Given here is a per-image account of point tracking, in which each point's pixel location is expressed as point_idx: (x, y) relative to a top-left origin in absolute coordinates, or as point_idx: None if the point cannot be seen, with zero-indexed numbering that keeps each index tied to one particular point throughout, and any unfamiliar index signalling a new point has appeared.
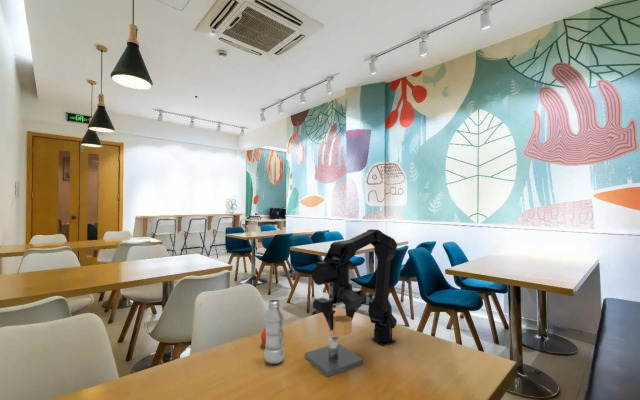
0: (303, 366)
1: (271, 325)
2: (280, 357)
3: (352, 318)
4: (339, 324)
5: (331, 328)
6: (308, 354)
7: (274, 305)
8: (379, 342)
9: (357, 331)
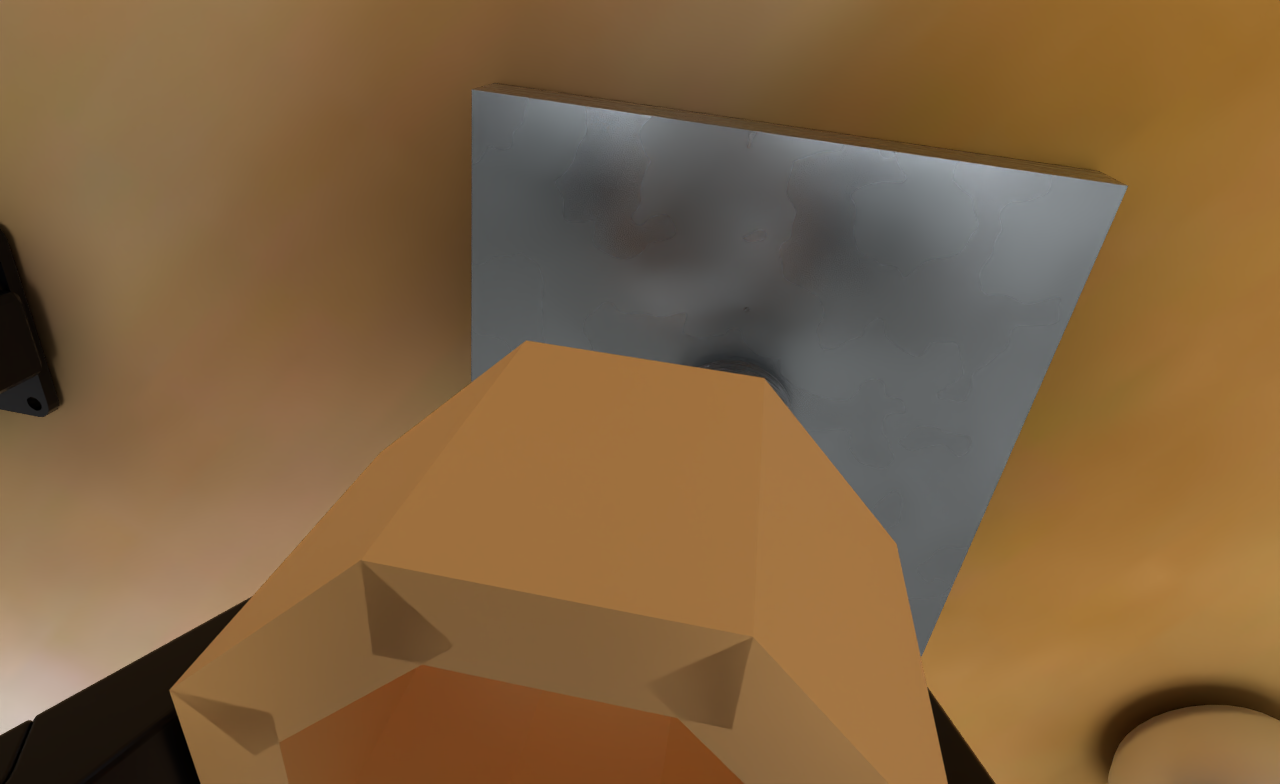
0: (1077, 519)
1: None
2: (1270, 748)
3: (142, 663)
4: (857, 679)
5: (944, 719)
6: (918, 615)
7: None
8: (12, 293)
9: (118, 599)
